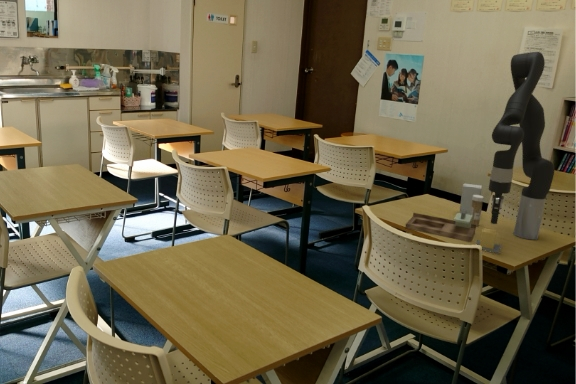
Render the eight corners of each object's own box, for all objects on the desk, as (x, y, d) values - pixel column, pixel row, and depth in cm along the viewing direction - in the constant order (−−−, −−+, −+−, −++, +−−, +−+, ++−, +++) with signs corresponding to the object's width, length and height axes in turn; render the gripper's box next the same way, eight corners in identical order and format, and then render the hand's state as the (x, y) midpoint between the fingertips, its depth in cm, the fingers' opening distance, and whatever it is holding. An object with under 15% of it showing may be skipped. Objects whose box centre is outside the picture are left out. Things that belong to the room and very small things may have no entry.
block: (480, 242, 204) (483, 228, 203) (494, 245, 202) (496, 230, 201) (479, 246, 200) (481, 231, 198) (492, 249, 198) (495, 234, 196)
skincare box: (477, 216, 241) (483, 185, 237) (476, 219, 235) (482, 188, 231) (459, 213, 244) (464, 182, 240) (457, 216, 238) (462, 185, 234)
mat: (501, 245, 204) (501, 244, 204) (499, 253, 195) (499, 252, 195) (474, 240, 208) (474, 239, 208) (471, 247, 199) (471, 246, 199)
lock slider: (470, 227, 215) (473, 209, 213) (467, 234, 206) (470, 215, 204) (455, 224, 218) (458, 206, 216) (451, 231, 208) (454, 212, 206)
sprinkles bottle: (477, 228, 223) (482, 198, 220) (466, 225, 226) (471, 196, 222) (479, 225, 227) (484, 195, 224) (468, 223, 229) (473, 193, 226)
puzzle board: (474, 233, 216) (476, 224, 214) (470, 243, 204) (472, 233, 203) (412, 221, 226) (413, 212, 225) (405, 229, 215) (406, 220, 214)
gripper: (491, 174, 201) (485, 214, 205) (488, 181, 188) (482, 224, 193) (512, 176, 198) (505, 217, 203) (511, 184, 186) (504, 227, 190)
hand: (494, 220), depth 198 cm, fingers open, 8 cm apart
